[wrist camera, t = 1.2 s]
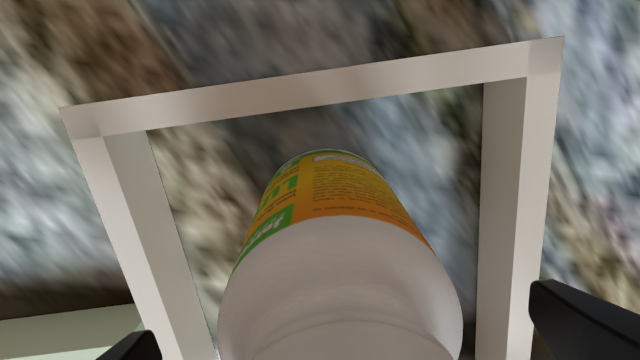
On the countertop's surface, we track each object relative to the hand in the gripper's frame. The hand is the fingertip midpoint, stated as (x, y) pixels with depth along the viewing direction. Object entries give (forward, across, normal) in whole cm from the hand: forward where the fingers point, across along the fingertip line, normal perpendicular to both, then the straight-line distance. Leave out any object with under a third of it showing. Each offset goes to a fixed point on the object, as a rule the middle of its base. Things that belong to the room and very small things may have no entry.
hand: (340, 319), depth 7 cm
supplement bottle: (+6, 0, 0) cm, 7 cm away
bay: (+6, 0, +2) cm, 7 cm away
